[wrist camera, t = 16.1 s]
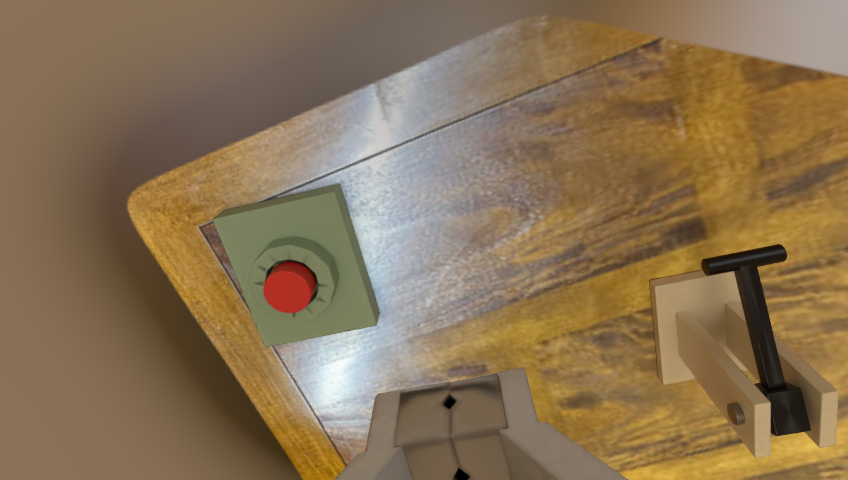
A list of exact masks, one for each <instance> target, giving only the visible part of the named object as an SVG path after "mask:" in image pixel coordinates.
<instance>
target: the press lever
mask: <svg viewBox="0 0 848 480" xmlns="http://www.w3.org/2000/svg"><path fill="white" fill-rule="evenodd" d="M786 259H787V253H786V250H785V248H784V247H783V246H782V245H780V244H777V245H772V246H767V247H762V248H757V249H752V250H747V251H742V252H737V253H732V254H727V255H722V256H716V257H711V258H706V259H703V260H702V263H701V264H702V269H703V272H704V274H705V275H706V276H712V275H717V274H722V273H727V272H733V271H734V274H735V278H736V282H737V286H738V290H739V295H740V299H741V303H742V307H743V311H744V316H745V320H746V324H747V328H748V332H749V336H750V341H751V345H752V349H753V353H754V357H755V361H756V366H757V370H758V374H759V378H760V382H761V383H756V384H754V385H755V386H756V387H757V388H758V389H759V390H760V391H761V393H762V394H763V395H764V396H765V397H766V398H767V399H768V400H769V401H770V403H771V433H772V434H774V435H775V436H781V435H787V434H793V433H800V432H806V431H811V427H810V423H809V419H808V415H807V411H806V407H805V402H804V398H803V394H802V390H801V388H799V387H797V386H795V385H792V384H790V383H787V382H785V380H784V376H783V372H782V368H781V364H780V360H779V355H778V351H777V347H776V343H775V339H774V335H773V331H772V327H771V322H770V318H769V314H768V310H767V306H766V302H765V298H764V294H763V289H762V285H761V281H760V277H759V273H758V269H757V267H758V266H764V265H769V264H774V263H779V262H784V261H785V260H786Z"/></svg>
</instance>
